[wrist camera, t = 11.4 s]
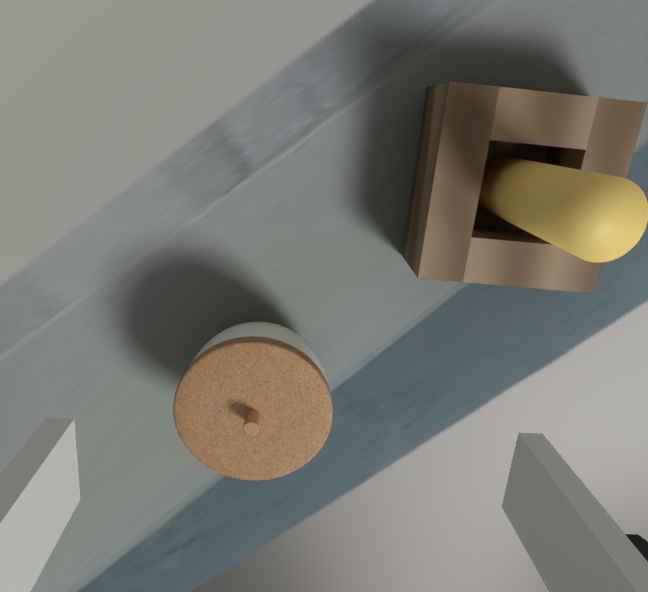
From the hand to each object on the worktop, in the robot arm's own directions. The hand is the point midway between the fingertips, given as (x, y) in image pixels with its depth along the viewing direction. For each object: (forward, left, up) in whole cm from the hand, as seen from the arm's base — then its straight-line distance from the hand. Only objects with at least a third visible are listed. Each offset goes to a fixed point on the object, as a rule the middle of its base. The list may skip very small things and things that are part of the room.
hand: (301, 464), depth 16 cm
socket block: (+13, +7, -25) cm, 29 cm away
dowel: (+13, +7, -24) cm, 29 cm away
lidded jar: (-3, -9, -26) cm, 27 cm away
